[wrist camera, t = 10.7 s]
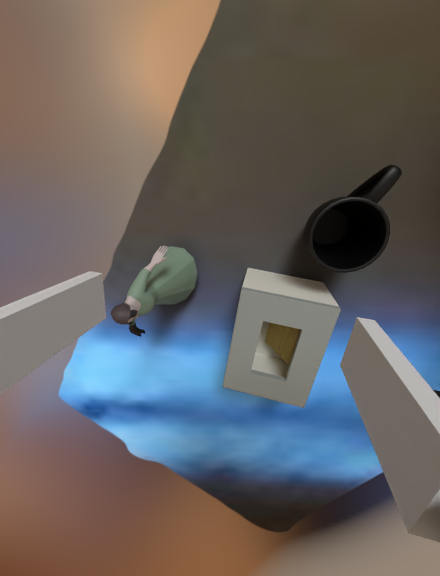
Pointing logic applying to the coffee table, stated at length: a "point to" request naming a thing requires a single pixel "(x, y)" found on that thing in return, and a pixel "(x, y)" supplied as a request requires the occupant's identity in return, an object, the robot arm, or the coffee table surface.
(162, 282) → the character figurine
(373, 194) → the mug
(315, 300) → the box
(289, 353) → the tall tan block
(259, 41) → the coffee table surface
